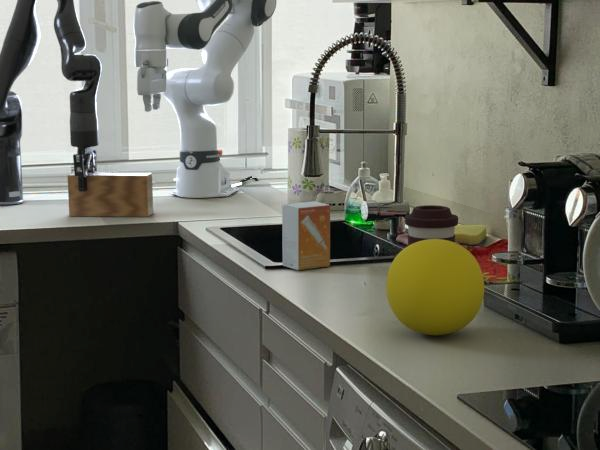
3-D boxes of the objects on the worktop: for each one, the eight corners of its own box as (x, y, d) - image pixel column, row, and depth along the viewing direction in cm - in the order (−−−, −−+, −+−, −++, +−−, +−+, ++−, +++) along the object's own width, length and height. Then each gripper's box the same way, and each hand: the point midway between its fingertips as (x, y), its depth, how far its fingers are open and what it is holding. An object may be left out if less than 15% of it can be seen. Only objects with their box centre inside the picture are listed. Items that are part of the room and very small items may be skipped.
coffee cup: (400, 280, 202) (400, 204, 200) (450, 279, 203) (451, 203, 201) (409, 292, 193) (410, 212, 190) (462, 291, 193) (463, 211, 191)
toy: (452, 317, 175) (453, 228, 172) (500, 340, 161) (502, 244, 158) (370, 326, 170) (371, 235, 167) (413, 350, 156) (414, 252, 153)
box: (69, 216, 286) (67, 175, 285) (76, 212, 292) (74, 172, 291) (148, 216, 284) (146, 175, 282) (153, 213, 290) (152, 172, 288)
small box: (298, 271, 212) (298, 207, 210) (281, 266, 217) (281, 204, 215) (331, 266, 217) (330, 204, 214) (314, 261, 222) (313, 200, 220)
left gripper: (89, 130, 278) (92, 193, 281) (104, 126, 292) (107, 186, 295) (62, 130, 278) (65, 193, 281) (78, 126, 293) (81, 186, 295)
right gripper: (153, 61, 281) (155, 112, 283) (169, 60, 301) (171, 108, 303) (130, 61, 281) (132, 112, 284) (148, 60, 301) (149, 108, 304)
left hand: (86, 189), depth 288 cm, fingers closed on box, 6 cm apart
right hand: (152, 110), depth 294 cm, fingers open, 8 cm apart
